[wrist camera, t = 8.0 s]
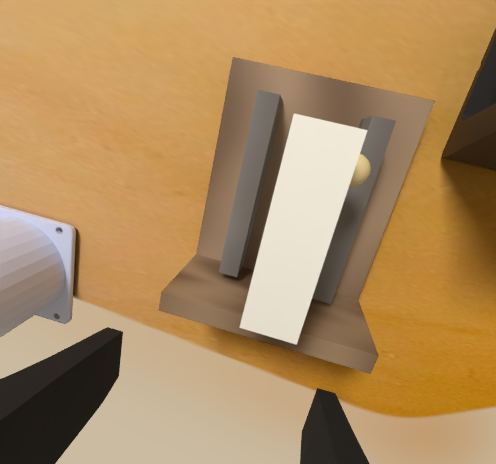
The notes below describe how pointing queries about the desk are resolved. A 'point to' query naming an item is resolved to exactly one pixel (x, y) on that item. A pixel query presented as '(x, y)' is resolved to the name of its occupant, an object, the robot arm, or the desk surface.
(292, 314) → the cabinet door
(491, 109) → the phone stand
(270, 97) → the brown base with rails
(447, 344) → the desk surface
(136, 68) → the desk surface
